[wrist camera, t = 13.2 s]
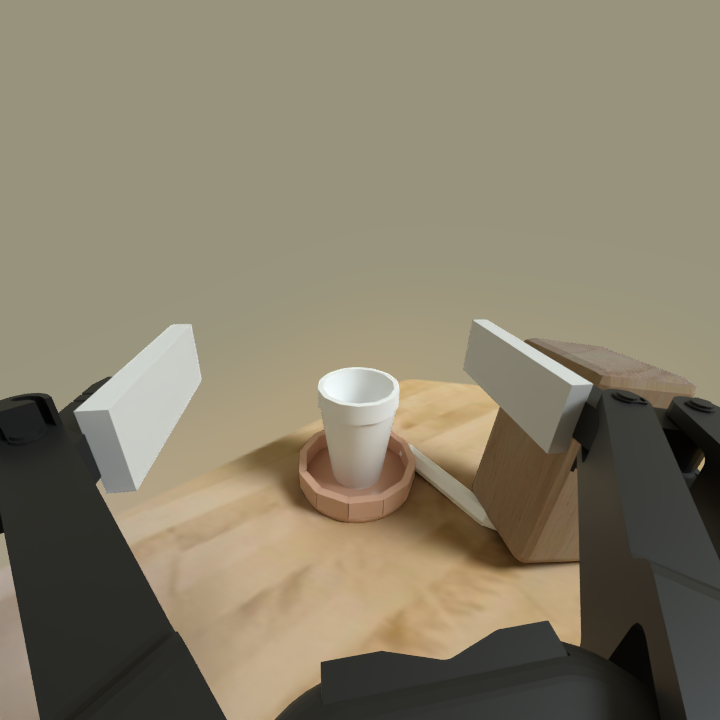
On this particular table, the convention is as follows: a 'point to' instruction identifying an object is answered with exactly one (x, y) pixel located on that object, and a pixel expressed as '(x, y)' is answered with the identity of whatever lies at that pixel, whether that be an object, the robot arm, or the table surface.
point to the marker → (451, 488)
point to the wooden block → (555, 457)
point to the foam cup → (357, 422)
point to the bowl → (353, 502)
